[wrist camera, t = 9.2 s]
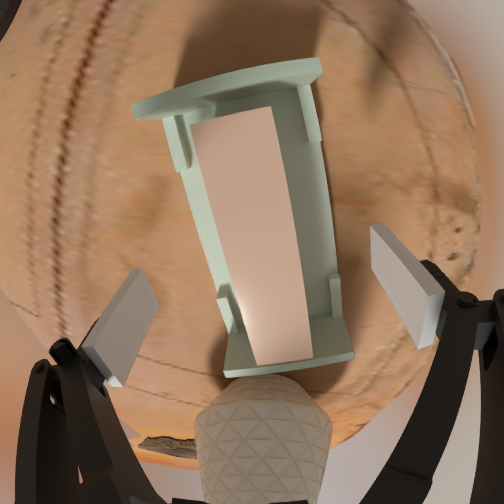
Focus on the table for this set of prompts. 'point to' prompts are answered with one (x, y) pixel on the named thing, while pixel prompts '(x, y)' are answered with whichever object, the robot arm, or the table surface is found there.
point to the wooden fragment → (171, 447)
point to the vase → (262, 443)
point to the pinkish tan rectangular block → (256, 230)
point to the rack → (299, 186)
